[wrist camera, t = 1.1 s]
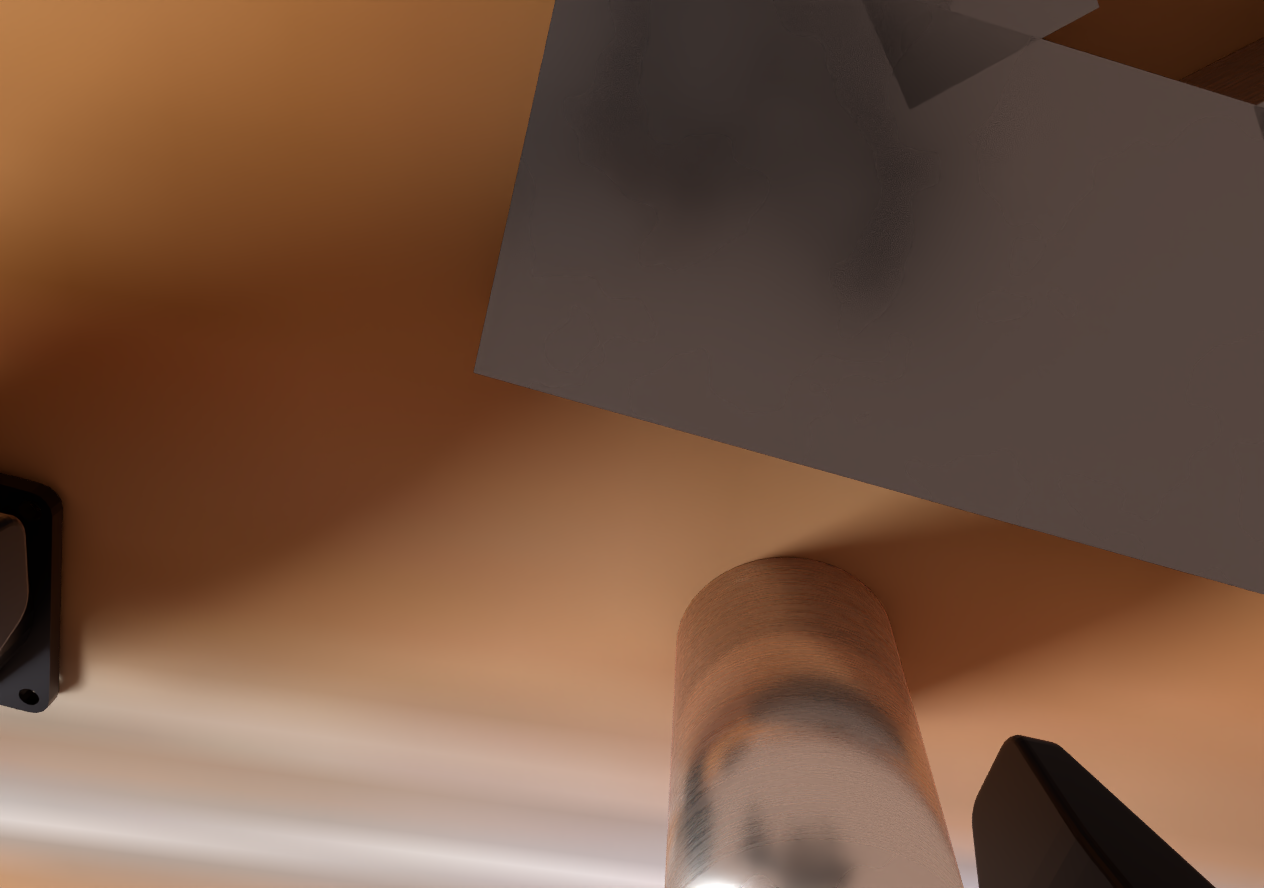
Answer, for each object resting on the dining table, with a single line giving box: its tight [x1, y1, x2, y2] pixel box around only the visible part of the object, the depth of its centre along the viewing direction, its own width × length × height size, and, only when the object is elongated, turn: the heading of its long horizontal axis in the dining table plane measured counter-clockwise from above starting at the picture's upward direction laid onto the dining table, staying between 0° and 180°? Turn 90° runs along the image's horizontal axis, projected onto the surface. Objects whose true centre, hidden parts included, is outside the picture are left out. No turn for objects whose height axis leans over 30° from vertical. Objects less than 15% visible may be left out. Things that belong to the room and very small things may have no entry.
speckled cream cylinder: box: [665, 557, 964, 888], centre depth 20 cm, size 5×5×8 cm
